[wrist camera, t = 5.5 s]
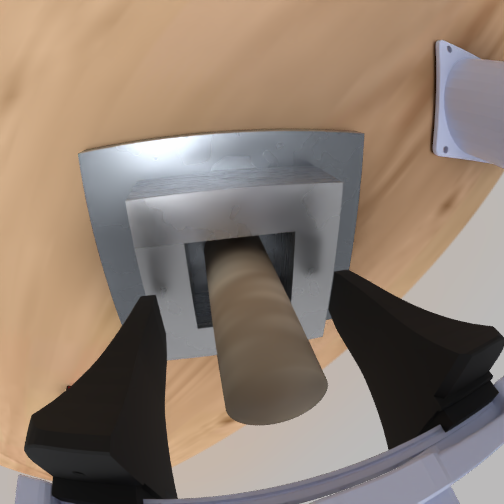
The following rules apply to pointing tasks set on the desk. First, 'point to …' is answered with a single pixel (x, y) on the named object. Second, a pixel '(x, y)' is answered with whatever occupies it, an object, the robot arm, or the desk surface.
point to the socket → (223, 218)
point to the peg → (258, 336)
